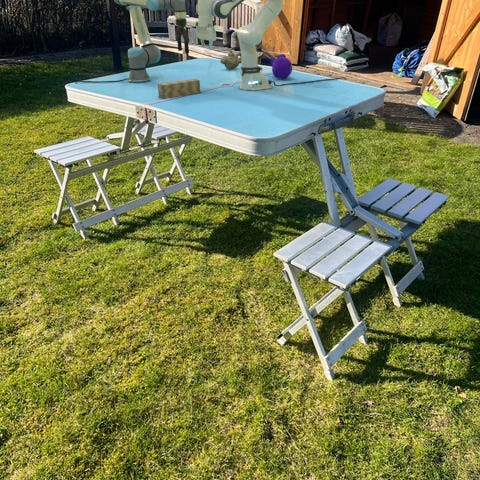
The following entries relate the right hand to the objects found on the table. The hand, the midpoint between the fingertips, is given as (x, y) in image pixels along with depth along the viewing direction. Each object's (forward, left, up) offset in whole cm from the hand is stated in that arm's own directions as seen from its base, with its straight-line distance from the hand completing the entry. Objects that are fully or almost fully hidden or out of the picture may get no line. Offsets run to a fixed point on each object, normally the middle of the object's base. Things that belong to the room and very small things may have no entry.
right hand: (207, 47), depth 290 cm
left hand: (+9, -35, -6) cm, 36 cm away
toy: (-60, -27, -28) cm, 71 cm away
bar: (+21, +2, -28) cm, 35 cm away
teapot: (-38, -75, -28) cm, 88 cm away
